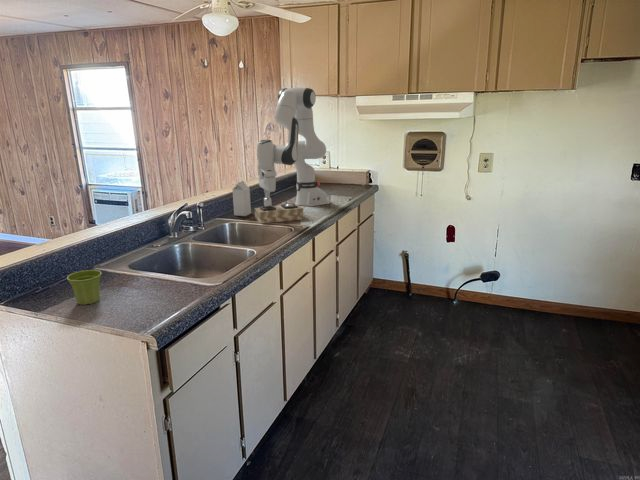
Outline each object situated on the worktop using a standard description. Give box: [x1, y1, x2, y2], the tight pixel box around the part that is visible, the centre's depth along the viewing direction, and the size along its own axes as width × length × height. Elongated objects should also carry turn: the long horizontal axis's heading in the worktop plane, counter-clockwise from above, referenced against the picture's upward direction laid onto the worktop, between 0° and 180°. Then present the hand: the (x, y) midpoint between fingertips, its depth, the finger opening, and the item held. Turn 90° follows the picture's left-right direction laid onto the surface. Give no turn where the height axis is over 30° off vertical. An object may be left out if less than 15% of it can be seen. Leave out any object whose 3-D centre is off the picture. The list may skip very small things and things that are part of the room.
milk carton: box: [231, 180, 252, 217], centre depth 248 cm, size 7×7×19 cm
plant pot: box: [66, 269, 103, 306], centre depth 135 cm, size 9×9×9 cm
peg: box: [263, 197, 273, 209], centre depth 234 cm, size 4×4×7 cm
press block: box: [253, 203, 305, 224], centre depth 238 cm, size 24×12×7 cm, turn 112°
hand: (267, 197), depth 233 cm, fingers closed
